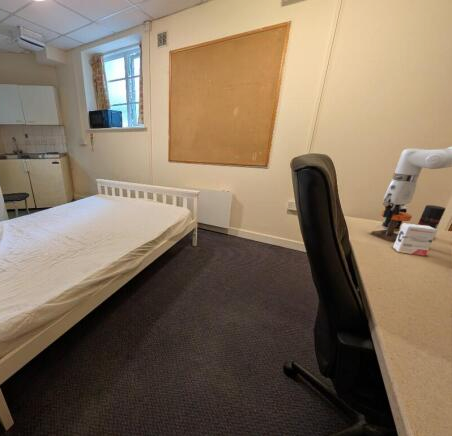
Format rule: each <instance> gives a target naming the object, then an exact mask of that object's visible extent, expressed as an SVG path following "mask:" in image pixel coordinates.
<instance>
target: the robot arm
mask: <svg viewBox="0 0 452 436" xmlns="http://www.w3.org/2000/svg"><path fill="white" fill-rule="evenodd" d="M451 167H452V145H451V146H449V147H446V148H438V149H437V148H435V149H426V148H416V147H415V148H405V149H403V150H402V151H401V154H400V156H399V159H398V162H397V165H396V167H395V170H394V173H393V174H392V178H391V181H390V183H389V185H388V187H387V189H386V192H385V194H384V196H383V203H382V205H383V206H384V210H385V211H384V214H383V216H382V218H388V219H391V218H392V216H393V214H395V215H398V214H399V211H400V210H401V209H402V206H403V207H405V205H408V204H410V203H412V201H413V197H414V194H415V192H416V189H417V181H418V179H419V177H420V175H421V173H422V169H423V168H424V169H429V170H440V169H447V168H451ZM391 205H392V206H391Z"/></svg>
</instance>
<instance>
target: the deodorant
mask: <svg viewBox="0 0 452 436" xmlns="http://www.w3.org/2000/svg"><path fill="white" fill-rule="evenodd" d="M445 211H446V207H443V206H440V205H431V204H426V205H425V206H424V209H423V211H422V213H421V216H420V218H419V221H418V223H417V225H424V226H430V227H432V228H434V229H436V230H437V228H438V226H439V224H440V222H441V220H442V218H443V215H444V213H445Z"/></svg>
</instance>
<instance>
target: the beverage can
mask: <svg viewBox="0 0 452 436" xmlns="http://www.w3.org/2000/svg"><path fill="white" fill-rule="evenodd" d="M390 205H391V204H390ZM391 206H392V205H391ZM407 211H408V210H407V207H406V206H402V209H401V210H400V212H404V213H407ZM390 221H391V219H388V218H385V217H383V221H382V224H381V226H382V228H383V229H384V230H387V229H388V226H389V224H390ZM402 224H403V221H399V220H398V223H397V225H396V228H395V230H394V231H398V230H400V229H401V227H402Z"/></svg>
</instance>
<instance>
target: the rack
mask: <svg viewBox="0 0 452 436" xmlns="http://www.w3.org/2000/svg"><path fill="white" fill-rule="evenodd" d="M397 223H398V220H393V219H391V221H390V224H389V226H388V229H382V230H380V229H379V230H372V231H371V233H370V235H373V236H375V237H378V238H381V239H383V240H385V241H388V242H390V243H395V241H396V239H397V236H398V234H399V233H396V232H395V231H396V230H395V228H396V225H397Z"/></svg>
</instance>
